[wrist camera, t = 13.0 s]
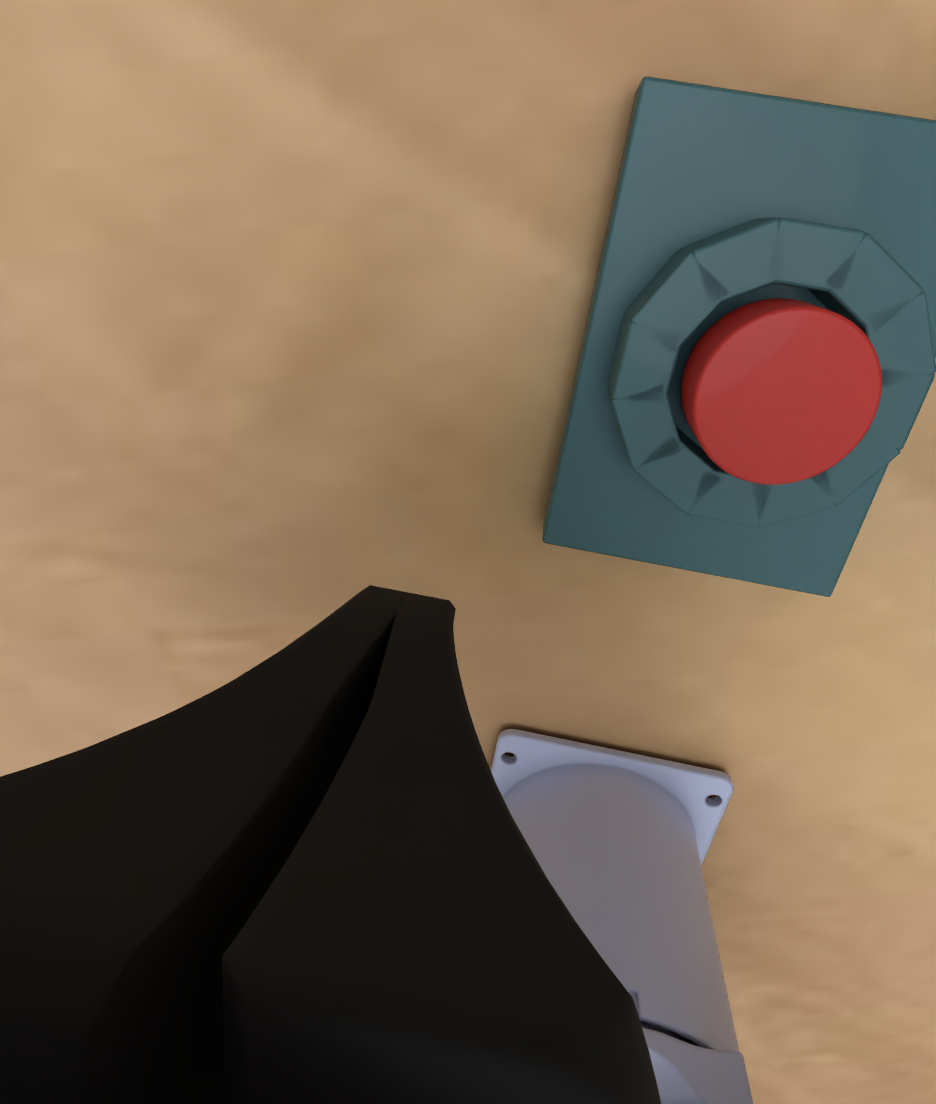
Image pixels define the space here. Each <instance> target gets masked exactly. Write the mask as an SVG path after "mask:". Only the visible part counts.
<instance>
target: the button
mask: <svg viewBox="0 0 936 1104" xmlns="http://www.w3.org/2000/svg"><path fill="white" fill-rule="evenodd" d="M881 390H882V374H881V367H880V362H879V358H878V356H877V353H876V351H875V348H874V346H873V345H872V343H871V341H870V340H869V338H868V337H867V336H866V334H865V333H864V332H863V331H862V330H861V329H860V328H859V327H858V326H857V325H855V324H854V323H853V322H852V321H850V320H849V319H847V318H845V317H844V316H842V315H840V314H838V313H835V312H833V311H830V310H827V309H824V308H821V307H818V306H815V305H812V304H810V303H807V302H803V301H799V300H795V299H787V298H770V299H764V300H758V301H755V302H752V303H748V304H745V305H743V306H741V307H739V308H736V309H734V310H733V311H731V312H729V313H727V314H726V315H724V316H723V317H722V318H720V319H719V320H718V321H716V322H715V323H714V324H713V325H712V326H711V327H710V328H709V329H708V330H707V331H706V332H705V333H704V334H703V335H702V337H701V338H700V339H699V340H698V342H697V343H696V345H695V346H694V348H693V350H692V352H691V354H690V356H689V358H688V360H687V363H686V366H685V368H684V372H683V377H682V383H681V402H682V407H683V412H684V414H685V417H686V420H687V422H688V424H689V426H690V428H691V430H692V431H693V433H694V435H695V436H696V438H697V440H698V441H699V443H700V445H701V447H702V448H703V450H704V451H705V452H706V454H707V455H708V457H709V458H710V459H711V460H712V461H713V462H714V463H715V464H716V465H717V466H719V467H720V468H721V469H722V470H724V471H725V472H727V473H729V474H731V475H732V476H734V477H737V478H739V479H742V480H744V481H748V482H752V483H757V484H766V485H779V484H788V483H793V482H798V481H802V480H805V479H808V478H811V477H813V476H816V475H818V474H820V473H822V472H824V471H826V470H828V469H829V468H831V467H832V466H834V465H836V464H837V463H838V462H839V461H841V460H842V459H843V458H845V457H846V456H847V455H848V454H849V453H850V452H851V451H852V450H853V449H854V448H855V447H856V446H857V445H858V443H859V442H860V441H861V440H862V438H863V437H864V435H865V434H866V432H867V431H868V429H869V428H870V426H871V424H872V422H873V420H874V417H875V415H876V412H877V409H878V406H879V402H880V397H881Z"/></svg>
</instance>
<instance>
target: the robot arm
mask: <svg viewBox="0 0 936 1104" xmlns="http://www.w3.org/2000/svg"><path fill="white" fill-rule="evenodd" d="M455 610H456V609H455V607H454V606H453V605H452V603H451V602H450V601H449V600H444V599H439V598H434V597H428V596H423V595H418V594H413V593H408V592H402V591H397V590H392V589H387V588H381V587H376V586H371V585H370V586H368V587H367V588H365V589H364V590H362V591H361V592H359V593H358V594H357V595H355V596H354V597H353V598H352V599H350V600H349V601H348V602H346V603H345V604H344V605H343V606H341V607H340V608H339V609H337V610H336V611H335V612H333V613H332V614H331V615H329V616H328V617H327V618H325V619H324V620H323V621H321V622H320V623H319V624H318V625H316V626H315V627H313V628H312V629H311V630H309V631H308V632H306V633H305V634H303V635H302V636H301V637H299V638H298V639H296V640H295V641H294V642H292V643H291V644H289V645H288V646H286V647H285V648H284V649H282V650H281V651H279V652H278V653H276V654H275V655H273V656H271V657H270V658H268V659H267V660H265V661H263V662H262V663H260V664H259V665H257V666H255V667H254V668H252V669H251V670H249V671H247V672H246V673H244V674H243V675H241V676H239V677H238V678H236V679H234V680H233V681H231V682H229V683H227V684H226V685H224V686H222V687H220V688H218V689H217V690H215V691H213V692H211V693H209V694H207V695H205V696H203V697H201V698H199V699H197V700H195V701H193V702H191V703H189V704H187V705H185V706H183V707H181V708H179V709H177V710H175V711H173V712H171V713H169V714H166V715H164V716H162V717H160V718H157V719H155V720H153V721H150V722H148V723H145V724H143V725H141V726H138V727H136V728H133V729H131V730H128V731H126V732H124V733H121V734H119V735H116V736H114V737H111V738H109V739H107V740H104V741H102V742H99V743H97V744H95V745H92V746H90V747H87V748H84V749H82V750H79V751H76V752H73V753H70V754H68V755H65V756H62V757H59V758H56V759H53V760H50V761H48V762H45V763H42V764H39V765H36V766H33V767H30V768H27V769H24V770H20V771H17V772H14V773H11V774H8V775H5V776H2V777H0V1104H753V1100H752V1096H751V1091H750V1086H749V1081H748V1077H747V1072H746V1067H745V1063H744V1058H743V1055H742V1053H740V1052H739V1048H738V1043H737V1038H736V1033H735V1029H734V1024H733V1019H732V1014H731V1009H730V1004H729V999H728V994H727V990H726V985H725V980H724V975H723V970H722V965H721V960H720V955H719V951H718V946H717V941H716V936H715V931H714V926H713V921H712V916H711V912H710V907H709V902H708V897H707V892H706V887H705V882H704V877H703V873H702V868H701V865H702V863H703V861H704V858H705V856H706V854H707V851H708V849H709V846H710V844H711V842H712V839H713V837H714V835H715V832H716V830H717V828H718V825H719V823H720V821H721V818H722V816H723V814H724V811H725V809H726V807H727V804H728V802H729V800H730V797H731V795H732V792H733V784H732V781H731V778H730V776H729V775H727V774H726V773H724V772H721V771H717V770H712V769H707V768H702V767H698V766H693V765H688V764H683V763H678V762H673V761H668V760H663V759H659V758H654V757H649V756H644V755H639V754H634V753H629V752H624V751H619V750H615V749H610V748H605V747H600V746H595V745H590V744H585V743H580V742H576V741H571V740H566V739H561V738H556V737H551V736H546V735H541V734H537V733H532V732H527V731H522V730H517V729H507V730H504V731H502V732H501V733H500V734H499V736H498V740H497V744H496V749H495V754H494V758H493V763H492V768H491V770H490V768H489V765H488V763H487V761H486V758H485V756H484V753H483V751H482V748H481V745H480V742H479V740H478V737H477V734H476V731H475V728H474V725H473V722H472V719H471V716H470V712H469V709H468V706H467V702H466V699H465V695H464V691H463V687H462V682H461V678H460V673H459V669H458V664H457V659H456V652H455V644H454V633H453V622H454V616H455ZM506 752H511V753H513V754H515V755H514V756H507V755H505V754H504V753H506ZM710 795H717V797H714V798H708V796H710Z"/></svg>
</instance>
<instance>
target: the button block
mask: <svg viewBox="0 0 936 1104" xmlns="http://www.w3.org/2000/svg"><path fill="white" fill-rule="evenodd" d="M770 298H787V299H795V300H799V301H803V302H807V303H810V304H812V305H815V306H818V307H821V308H824V309H827V310H830V311H833V312H835V313H838V314H840V315H842V316H844V317H845V318H847V319H849V320H850V321H852V322H853V323H854V324H855V325H857V326H858V327H859V328H860V329H861V330H862V331H863V332H864V333H865V334H866V336H867V337H868V338H869V340H870V341H871V343H872V345H873V346H874V348H875V351H876V353H877V356H878V358H879V362H880V367H881V374H882V390H881V397H880V402H879V406H878V409H877V412H876V415H875V417H874V420H873V422H872V424H871V426H870V428H869V429H868V431H867V432H866V434H865V435H864V437H863V438H862V440H861V441H860V442H859V443H858V445H857V446H856V447H855V448H854V449H853V450H852V451H851V452H850V453H849V454H848V455H847V456H846V457H845V458H843V459H842V460H841V461H839V462H838V463H837V464H836V465H834V466H832V467H831V468H829V469H828V470H826V471H824V472H822V473H820V474H818V475H816V476H813V477H811V478H808V479H805V480H802V481H798V482H793V483H788V484H779V485H766V484H757V483H752V482H748V481H744V480H742V479H739V478H737V477H734V476H732V475H731V474H729V473H727V472H725V471H724V470H722V469H721V468H720V467H719V466H717V465H716V464H715V463H714V462H713V461H712V460H711V459H710V458H709V457H708V455H707V454H706V452H705V451H704V450H703V448H702V447H701V445H700V443H699V441H698V440H697V438H696V436H695V435H694V433H693V431H692V430H691V428H690V426H689V424H688V422H687V420H686V417H685V414H684V412H683V407H682V402H681V383H682V377H683V372H684V368H685V366H686V363H687V360H688V358H689V356H690V354H691V352H692V350H693V348H694V346H695V345H696V343H697V342H698V340H699V339H700V338H701V337H702V335H703V334H704V333H705V332H706V331H707V330H708V329H709V328H710V327H711V326H712V325H713V324H714V323H715V322H716V321H718V320H719V319H720V318H722V317H723V316H724V315H726V314H727V313H729V312H731V311H733V310H734V309H736V308H739V307H741V306H743V305H745V304H748V303H752V302H755V301H758V300H764V299H770ZM935 356H936V121H935V120H929V119H922V118H916V117H909V116H903V115H896V114H889V113H883V112H876V111H870V110H863V109H857V108H850V107H844V106H837V105H830V104H824V103H817V102H811V101H804V100H798V99H791V98H785V97H778V96H771V95H765V94H758V93H752V92H745V91H739V90H732V89H726V88H719V87H712V86H706V85H699V84H693V83H686V82H680V81H673V80H666V79H660V78H653V77H644V78H643V79H642V81H641V83H640V85H639V87H638V89H637V91H636V95H635V99H634V104H633V109H632V113H631V118H630V123H629V127H628V132H627V137H626V141H625V146H624V151H623V155H622V160H621V165H620V169H619V174H618V179H617V183H616V188H615V193H614V197H613V202H612V207H611V211H610V216H609V221H608V225H607V230H606V235H605V239H604V244H603V249H602V253H601V258H600V263H599V267H598V272H597V277H596V281H595V286H594V291H593V295H592V300H591V305H590V309H589V314H588V319H587V323H586V328H585V333H584V337H583V342H582V347H581V351H580V356H579V361H578V365H577V370H576V375H575V379H574V384H573V389H572V393H571V398H570V403H569V407H568V412H567V417H566V421H565V426H564V431H563V435H562V440H561V445H560V449H559V454H558V459H557V463H556V468H555V473H554V477H553V482H552V487H551V491H550V496H549V501H548V505H547V510H546V515H545V519H544V526H543V538H542V540H543V542H544V543H548V544H553V545H558V546H563V547H569V548H574V549H579V550H584V551H590V552H595V553H600V554H605V555H611V556H616V557H621V558H627V559H632V560H637V561H642V562H648V563H653V564H658V565H663V566H669V567H674V568H679V569H684V570H690V571H695V572H700V573H705V574H711V575H716V576H721V577H727V578H732V579H737V580H742V581H748V582H753V583H758V584H763V585H769V586H774V587H779V588H784V589H790V590H795V591H800V592H805V593H811V594H816V595H821V596H827V597H830V596H831V594H832V592H833V590H834V587H835V585H836V583H837V581H838V578H839V576H840V574H841V571H842V569H843V567H844V565H845V562H846V560H847V558H848V555H849V553H850V551H851V549H852V546H853V544H854V542H855V539H856V537H857V535H858V533H859V530H860V528H861V526H862V523H863V521H864V519H865V517H866V514H867V512H868V510H869V507H870V505H871V503H872V500H873V498H874V496H875V494H876V491H877V489H878V487H879V484H880V482H881V480H882V478H883V475H884V473H885V471H886V468H887V466H888V464H889V462H890V461H891V460H892V459H894V458H895V457H896V456H897V455H898V454H899V453H900V452H901V451H900V450H901V449H902V448H903V447H904V444H905V442H906V440H907V438H908V435H909V433H910V431H911V429H912V426H913V424H914V422H915V420H916V417H917V415H918V413H919V410H920V408H921V406H922V404H923V401H924V399H925V397H926V395H927V392H928V390H929V388H930V386H931V383H932V381H933V379H934V373H935V372H936V364H935Z"/></svg>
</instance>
